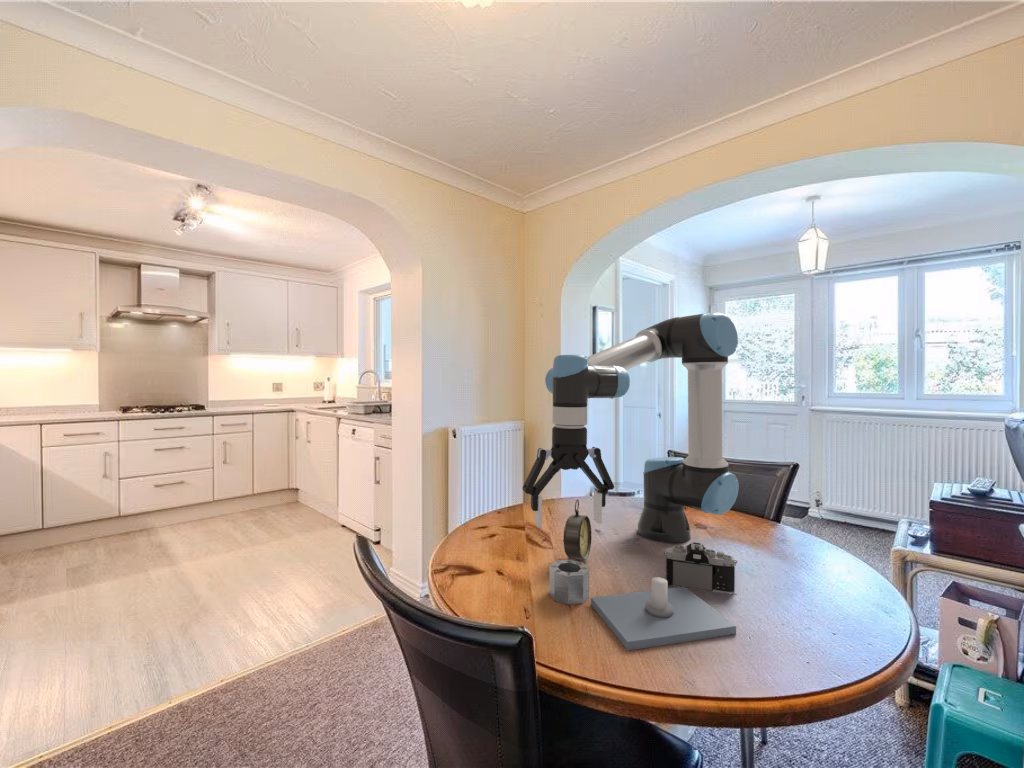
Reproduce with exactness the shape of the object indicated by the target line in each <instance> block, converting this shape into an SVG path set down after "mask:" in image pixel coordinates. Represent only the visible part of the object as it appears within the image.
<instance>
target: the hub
mask: <svg viewBox="0 0 1024 768" xmlns="http://www.w3.org/2000/svg"><path fill="white" fill-rule="evenodd" d="M548 566H549V571H548V572H549V578H548V579H549V581H548V582H549V584H548V585H549V588H548V590H549V592H548V594H549V595H550V596H551V598H552V600H553V601H555V602H558V603H561V604H564V605H568V606H571V605H577V604H584V603H585V602H586V601H587V600H588V598H589V597H590V568H589V567H588V566H587V565H586V564H585V562H582V561H575V559H563V560H556V561H554V562H553V563H552V564H551V565H548Z"/></svg>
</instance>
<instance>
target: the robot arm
mask: <svg viewBox="0 0 1024 768" xmlns="http://www.w3.org/2000/svg"><path fill="white" fill-rule="evenodd" d="M738 342H739V337H738V332H737V328H736V326H735V323H734V321H732V319H731V318H730V317H729V316H728V315H726V313H725V314H724V313H721V312H707V313H699V314H698V313H697V314H693V315H686V316H676V317H671V318H669V319H668V318H667V319H665V320H663V321H660V322H658V323H655V324H653V325H651V326H649V327H647V328H645V329H643V330H642V329H641V330H639V331H638V332H637V333H636V334H635V335H634V337H632V338H629V339H627V340H625V341H623V342H621V343H617V344H615V345H613V346H609V348H608V347H607V348H606V349H603V350H601V351H599V352H596V353H593V354H591V355H589V356H587V355H584V354H558V355H555V357H554V358H553V364H552V367H551V368H550V369H549V370H548V371H547V373H546V374H545V377H544V379H545V380H544V381H545V382H544V383H545V387H546V389H547V390H548V391H549V393H550V394H552V419H551V422H552V425H554V426H553V427H551V430H552V431H551V448H550V449H544V448H542V447H540V448H538V449H537V454H536V459H535V461H534V463H533V465H532V467H531V469H530V471H529V474H528V475H527V478H526V479H525V482H524V484H523V486H522V491H523V492H524V493H525V494H526V495H530V509H531V510H532V511H533V512H534V524H535V526H537V528H538V529H539V528H543V496H542V495H541V493H542V491H543V490H544V489H545V488H546V487H547V485H548V484H549V483H550V481H551V480H552V479H553V478H554V476H555V475H556V474H557V473H558V472H560V470H561V469H562V470H564V471H566V470H567V471H569V470H578V469H580V470H581V471H582V473H584V475H585V476H586V477H587V479H588V480H589V481H590V482H591V483H592V485H594V487H595V489H597V490H593V521H594V522H595V523H597V524H598V525H599V524H602V522H603V521H602V518H603V510H602V509H603V508H605V507H606V503H607V502H606V498H607V497H606V494H608V493H609V491H610V490H614V489H615V485H614V482H613V481H612V478H611V476H610V474H609V472H608V470H607V467H606V465H605V463H604V461H603V459H602V451H601V449H600V448H599V447H596V446H592V447H591V448H588V446H587V444H588V428H587V426H586V425H588V401H589V399H611V400H613V399H615V398H616V399H617V398H622V397H624V396H625V395H626V394H627V392H628V391H629V389H630V385H631V384H630V383H631V382H630V381H631V380H630V379H631V378H630V375H629V373H628V371H627V370H630V369H632V368H634V367H636V366H639V365H640V364H643V363H645V362H647V363H648V362H649V363H653V362H656V361H658V360H661V359H671V358H673V359H675V358H676V359H677V358H679V359H681V365H683V366H684V368H686V370H687V416H688V417H687V418H688V419H687V431H688V433H687V434H688V435H687V436H688V437H687V438H688V453H687V454H688V455H687V457H686V458H684V457H680V456H666V457H665V456H664V457H654V458H647V460H646V461H645V462H644V464H643V465H644V466H643V467H644V468H643V472H642V473H643V508H642V511H641V514H640V517H639V520H638V524H637V533H638V534H639V536H641V537H643V538H645V539H647V540H651V541H654V542H660V543H666V544H667V543H668V544H669V543H670V544H674V543H675V544H676V543H683V542H684V543H685V542H687V541H689V540H690V539H691V532H692V531H691V527H690V523H689V520H688V517H687V514H686V511H685V507H686V508H691V509H694V510H698V511H700V512H703V513H705V514H711V515H712V514H713V515H717V516H718V515H723V514H726V513H727V512H728V511H730V510H731V508H733V505H735V503H736V500H737V497H738V494H739V485H740V484H739V479H737V476H736V475H735V474H734V473H732V472H730V471H729V470H730V469H729V467H730V466H729V463H728V461H727V460H726V459H725V458H723V457H724V456H723V373H722V372H723V369H724V367H726V365H728V363H729V357H730V356H731V355H734V353H735V352H736V350H737V348H738V345H739V344H738ZM585 426H586V427H585ZM588 456H589V457H590V458H591V459H592V461H593V464H594V465H595V467H596V470H597V472H598V473H599V477H600V479H601V480H602V482H601V480H600V479H599V478H598V476H597V475H596V474H595V473H594V472H593V470H592V469H591V468H590V466H589V464H587V462H586V459H587V457H588ZM550 457H551V458H552V461H551V462H550V464H549V465H548V467H547V468H546V469H545V471H544V472H543V474H542V475H541V476H540V478H539V475H540V473H541V472H542V469H543V467H544V465H545V463H546V461H547V460H548V459H549V458H550Z"/></svg>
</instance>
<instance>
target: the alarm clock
mask: <svg viewBox="0 0 1024 768" xmlns="http://www.w3.org/2000/svg"><path fill="white" fill-rule="evenodd" d="M579 506H580V501H579V499H578V498H577V499H576V500H575V503H574V513H575V514H571V515H569V516H568V517H567V519H566V522H565V525H564V530H563V540H562V542H563V548H564V552H565V555H566V556H567V558H568V560H574V561H578V562H580V561H586V560H587V559H588V557H589V555H590V553H591V552H590V551H591V546H592V525H591V520H590V518H589V516H587V515H581V514H579V508H580V507H579Z"/></svg>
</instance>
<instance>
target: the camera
mask: <svg viewBox="0 0 1024 768" xmlns="http://www.w3.org/2000/svg"><path fill="white" fill-rule="evenodd" d="M663 554H664V557H666V566H665V568H666V571H665V573H666V578H665V579H666V580H667V581H668V586H671V587H672V586H673V587H683V586H685V587H686V588H687V589H689V590H690V589H691V590H698V591H703V590H705V591H704V592H710V591H713V592H712V593H716V592H721V593H720V594H723V593H734V594H735V586H736V585H735V583H736V581H735V580H736V579H735V575H736V574H735V572H736V566H737V564H738V560H737V559H735V557H734V556H733V555H729V554H725V552H723V551H720V550H719V551H715V550H714V549H707V548H706V547H705V545H703V543H700V542H697V541H696V542H694V541H693V542H690V543H689V544H688V545H685V546H683V545H680V544H675V545H673V546H672V547H667V548H666V550H664V551H663Z"/></svg>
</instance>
